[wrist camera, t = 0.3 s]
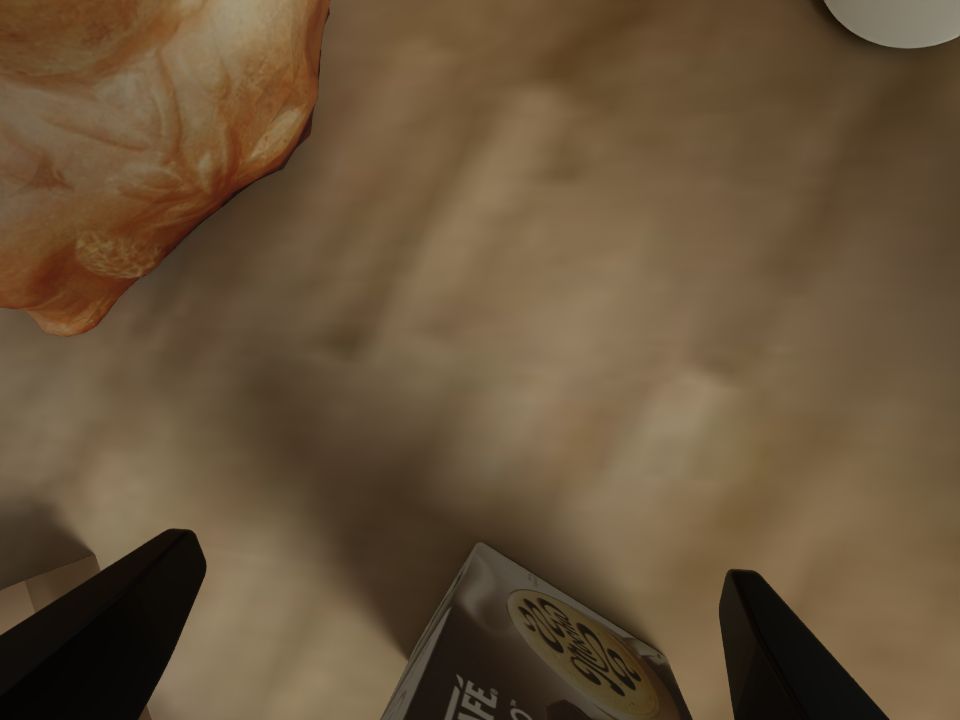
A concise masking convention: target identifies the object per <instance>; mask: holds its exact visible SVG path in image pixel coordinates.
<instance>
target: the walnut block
mask: <svg viewBox="0 0 960 720" xmlns="http://www.w3.org/2000/svg"><path fill="white" fill-rule="evenodd" d="M99 572H101V571H100V568H99V565H98V562H97V559H96V556H95V554H94V555H92V556H89V557H86V558H83V559H81V560H78V561H75V562H73V563H70V564H67V565H65V566H62V567H59V568H56V569H54V570H51V571H48V572H46V573H43V574H40V575H37V576H35V577H32V578H29V579H27V580H24V581H22V582H19V583H17V584H14V585H12V586H10V587H7V588H5V589H2V590H0V635H1V634H3V633H4V632H6V631H8V630H9V629H11V628H12V627H14V626H15V625H17V624H19V623H20V622H22V621H23V620H25V619H27V618H28V617H30V616H31V615H33V614H34V613H36V612H38V611H39V610H41V609H42V608H44V607H45V606H47V605H49V604H50V603H52V602H53V601H55V600H57V599H58V598H60V597H61V596H63V595H64V594H66V593H68V592H69V591H71V590H72V589H74V588H75V587H77V586H79V585H80V584H82V583H83V582H85V581H87V580H88V579H90V578H91V577H93V576H94V575H96V574H98V573H99ZM139 720H151V717H150V714H149V711H148V708H147V705H146V706H145V708H144V710H143V712H142V714H141V716H140V718H139Z"/></svg>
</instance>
